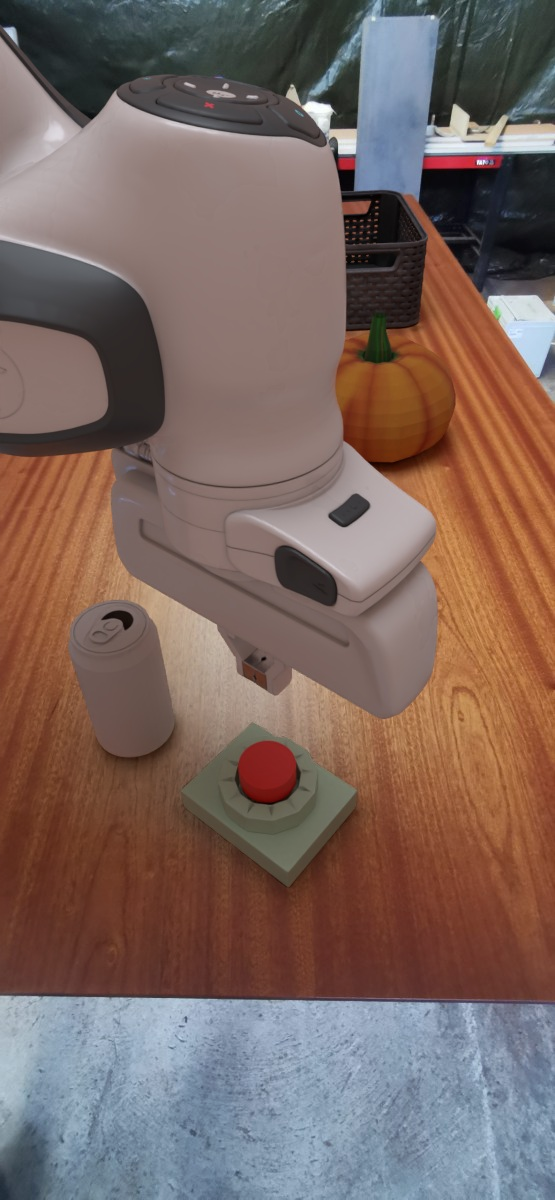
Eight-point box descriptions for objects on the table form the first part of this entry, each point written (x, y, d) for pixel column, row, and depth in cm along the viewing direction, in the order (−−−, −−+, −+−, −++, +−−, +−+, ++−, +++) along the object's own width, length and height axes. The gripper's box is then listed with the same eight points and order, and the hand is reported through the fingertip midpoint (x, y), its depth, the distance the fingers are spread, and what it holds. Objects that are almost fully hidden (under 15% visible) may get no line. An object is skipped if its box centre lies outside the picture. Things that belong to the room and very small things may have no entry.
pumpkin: (359, 496, 84) (366, 371, 73) (267, 428, 96) (263, 312, 85) (482, 444, 91) (504, 324, 81) (383, 387, 103) (391, 276, 93)
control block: (183, 807, 55) (176, 776, 52) (254, 738, 59) (251, 706, 56) (288, 888, 50) (287, 858, 47) (356, 806, 54) (359, 775, 51)
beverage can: (191, 718, 61) (173, 612, 53) (143, 776, 57) (115, 671, 49) (131, 689, 63) (104, 584, 55) (80, 742, 59) (44, 637, 51)
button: (227, 782, 52) (226, 767, 51) (264, 745, 54) (263, 731, 53) (271, 813, 50) (270, 799, 49) (307, 774, 52) (307, 759, 51)
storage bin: (423, 327, 118) (433, 238, 109) (303, 333, 117) (302, 244, 108) (392, 267, 139) (398, 188, 130) (290, 272, 138) (289, 193, 129)
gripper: (62, 449, 39) (112, 634, 48) (391, 609, 29) (373, 804, 38) (150, 402, 42) (181, 584, 52) (470, 531, 32) (436, 727, 42)
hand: (265, 678), depth 45 cm, fingers closed
